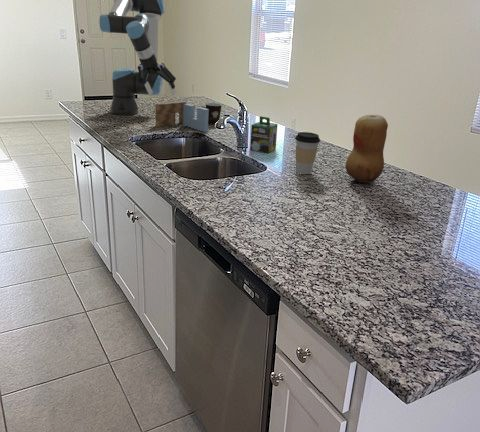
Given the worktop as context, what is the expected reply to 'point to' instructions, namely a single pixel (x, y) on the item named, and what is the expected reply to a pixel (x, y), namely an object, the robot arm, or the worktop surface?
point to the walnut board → (169, 113)
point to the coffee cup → (306, 151)
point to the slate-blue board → (192, 122)
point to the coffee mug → (213, 112)
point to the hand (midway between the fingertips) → (162, 94)
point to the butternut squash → (367, 148)
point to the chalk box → (263, 136)
